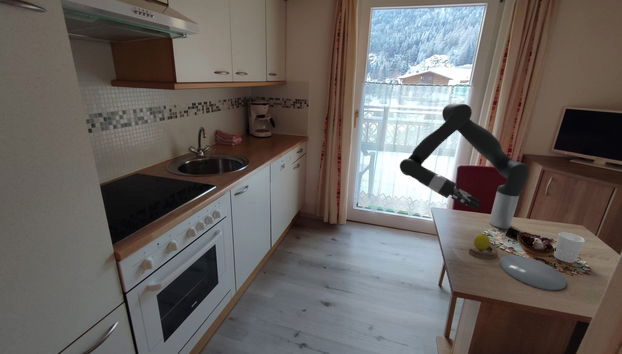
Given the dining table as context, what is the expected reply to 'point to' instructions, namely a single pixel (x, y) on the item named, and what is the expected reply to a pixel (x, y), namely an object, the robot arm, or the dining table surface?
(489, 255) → the lemon holder
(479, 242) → the lemon
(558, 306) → the dining table surface
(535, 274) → the plate
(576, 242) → the white cup
